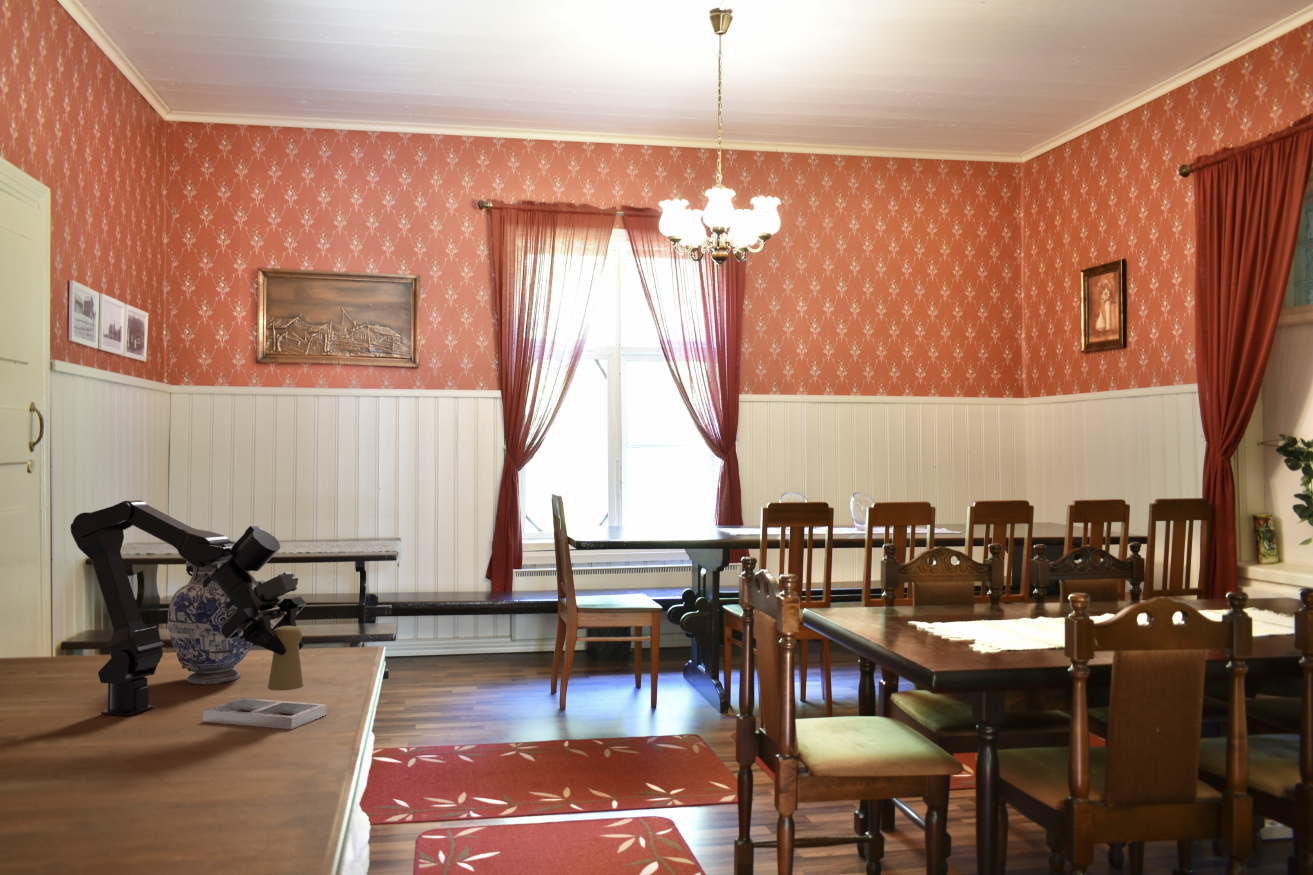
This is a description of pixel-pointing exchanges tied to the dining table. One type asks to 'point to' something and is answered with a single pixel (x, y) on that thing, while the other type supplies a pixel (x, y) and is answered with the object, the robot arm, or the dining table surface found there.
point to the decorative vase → (204, 631)
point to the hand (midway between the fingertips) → (293, 650)
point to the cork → (287, 661)
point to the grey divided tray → (265, 713)
